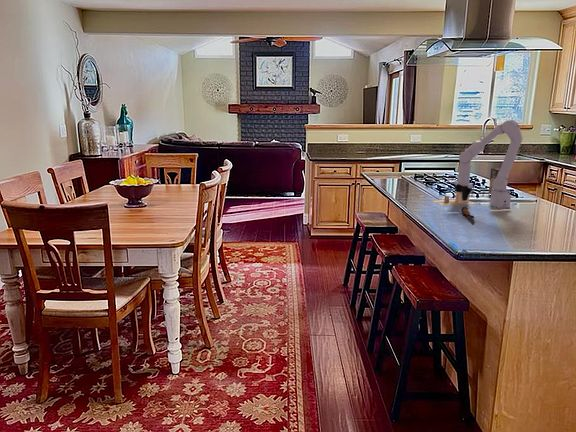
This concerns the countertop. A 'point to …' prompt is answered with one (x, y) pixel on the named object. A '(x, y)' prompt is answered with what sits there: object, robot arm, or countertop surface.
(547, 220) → the countertop surface
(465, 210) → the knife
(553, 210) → the countertop surface
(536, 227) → the countertop surface
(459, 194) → the slotted knob
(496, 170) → the coffee box
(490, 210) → the countertop surface
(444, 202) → the shaft board
